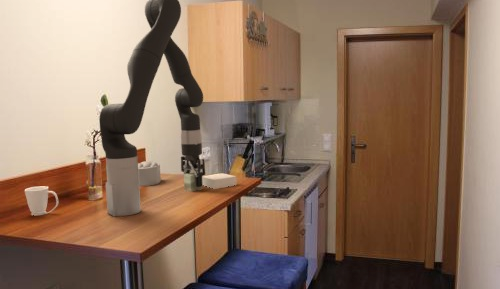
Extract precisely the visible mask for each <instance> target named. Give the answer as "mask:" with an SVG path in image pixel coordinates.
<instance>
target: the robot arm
mask: <svg viewBox="0 0 500 289" xmlns="http://www.w3.org/2000/svg"><path fill="white" fill-rule="evenodd" d="M144 15H145V19H146V21H147V24H148V25H149V27H150V30H148V32H147V33H146V34H145V35H144V36H142V37H141V38H140V40H139V41H138V43H136V45H135V47H134V48H133V50H132V52H131V54H130V57H129V59H128V62H127V68H126V70H127V71H126V72H127V76H128V81H129V84H130V85H129V91H128V93H127V96H126V99H125V101H124V102H122V103H109V104H106V105H105V106H103V107H102V109H101V111H100V112H99V129H100V140H101V146H102V149H103V151H104V153H105V154H104V155H105V162H106V163H105V168H106V167H107V174H106V182H105V183H104V184H105V195H106V196H105V198H106V212H107V214H109V215H111V216H113V217H124V216H132V215H136V214H139V213H140V212H141V211H142V209H141V192H140V186H139V173H138V163H139V160H138V158H139V156H138V149H137V147H136V146H135V145H134V144H131V143H130V142H129V141H128V140H127V139H126V136H125V135H132V134H135V133H136V132H137V131H138V129H139V128H140V126H141V124H142V120H143V118H144V113H145V110H146V106H147V101H148V97H149V94H150V91H151V89H152V86H153V83H154V79H155V77H156V75H157V73H158V71H159V70H158V69H159V68H160V65H161V62H162V58H163V56H164V57H165V59H166V63H167V65H168V68H169V71H170V75H171V78H172V79H173V82H174V84H176V85H179V86H182V87H183V88H179V89H178V90H177V91H176V93H175V95H174V102H175V106H176V109H177V112H178V115H179V118H180V129H181V131H180V143H181V144H180V146H181V147H180V149H181V155H182V156H181V157H180V170H181V172H183V175H184V174H188V173H195V176H196V187H202V176H206V166H205V164H206V163H205V159H204V158H200V156H201V155H202V154H203V146H202V145H203V144H202V133H201V132H202V131H201V118H200V115H199V114H197V113H194V112H193V111H192V109H191V108H199V107H200V106H201V105H202V104H203V103H204V93H203V90H202V88H201V86H200V85H199V83H198V82H197V80H196V78H195V77H194V75H193V74H192V71H191V67H190V63H189V60H188V57H187V56H186V54H185V53H184V51H183V50H182V49H181V48H180V47H179V45H178V44H177V43H176V42H175V41H174V39H172V37H171V36H172V35H173V33H174V31H175V29H176V28H177V26H178V24H179V22H180V18H181V15H182V7H181V3H180V1H179V0H147V1H146V2H145V5H144ZM107 181H108V182H107Z"/></svg>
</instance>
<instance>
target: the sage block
mask: <svg viewBox="0 0 500 289" xmlns="http://www.w3.org/2000/svg"><path fill="white" fill-rule="evenodd" d="M183 181H184V182H183V183H184V190H185V191H187V190H188V192H190V191H192V192H196V190H198V191H201V190H200V189H203V190H204V186H203V180H202V187H196V176H195V173H194V172H191V173H188V174H184V173H183Z"/></svg>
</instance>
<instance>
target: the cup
mask: <svg viewBox="0 0 500 289" xmlns="http://www.w3.org/2000/svg"><path fill="white" fill-rule="evenodd" d="M24 194H25V198H26V201H27V206H28V209H29V211H30V212H31V214H30V215H31V216H33V215H34V216H35V217H36V216H42V215H48V214H49V213H51V212H53V211H54V210H55V209H56V208H57V207H58V205H59V198H58V195H57V193H56V192H55V191H54V190H49V186H44V185H43V186H31V187H28V188H27V187H26V188H25V189H24ZM49 194H52V195H53V196H54V197H55V201H56V203H55V206H54V207H53V208H51V210H49V211H48V212H47V211H46V210H47V207H48V206H47V205H48V200H49V199H48V198H49Z"/></svg>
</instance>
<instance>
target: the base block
mask: <svg viewBox="0 0 500 289" xmlns="http://www.w3.org/2000/svg"><path fill="white" fill-rule="evenodd" d="M202 180H203V185H204V186H203V187H205V186H207V187H206V188H209V187H210V188H209V189H212V188H213V189H212V190H218V189H223V188H228V186H229V187H233V186H234V185H235V186H237V176H236V175H233V174H227V173H222V172H221V173H216V174H210V175H208V174H207V175H203V176H202ZM235 186H234V187H235Z"/></svg>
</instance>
